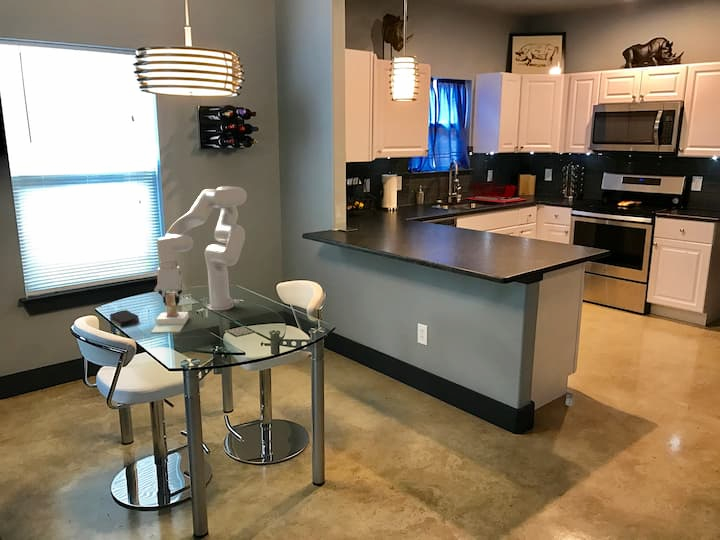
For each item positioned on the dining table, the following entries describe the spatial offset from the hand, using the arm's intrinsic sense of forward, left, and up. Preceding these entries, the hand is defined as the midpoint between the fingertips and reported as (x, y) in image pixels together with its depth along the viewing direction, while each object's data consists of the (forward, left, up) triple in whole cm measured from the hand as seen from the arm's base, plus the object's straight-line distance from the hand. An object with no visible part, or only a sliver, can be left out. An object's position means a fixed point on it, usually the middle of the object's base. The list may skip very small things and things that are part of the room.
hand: (171, 304), depth 258 cm
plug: (0, 0, -5) cm, 5 cm away
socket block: (0, 0, -9) cm, 9 cm away
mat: (0, +11, -9) cm, 14 cm away
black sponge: (+22, -4, -9) cm, 24 cm away
